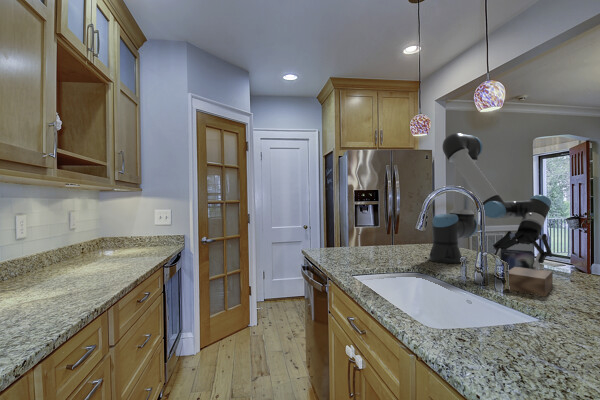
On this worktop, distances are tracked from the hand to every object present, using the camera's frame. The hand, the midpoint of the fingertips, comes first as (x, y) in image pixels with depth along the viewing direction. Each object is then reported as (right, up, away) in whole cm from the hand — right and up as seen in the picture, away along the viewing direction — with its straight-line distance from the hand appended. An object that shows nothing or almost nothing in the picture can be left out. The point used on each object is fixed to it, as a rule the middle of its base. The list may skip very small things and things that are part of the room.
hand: (514, 265), depth 120 cm
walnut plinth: (-5, -5, -14) cm, 16 cm away
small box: (+2, -5, +1) cm, 6 cm away
